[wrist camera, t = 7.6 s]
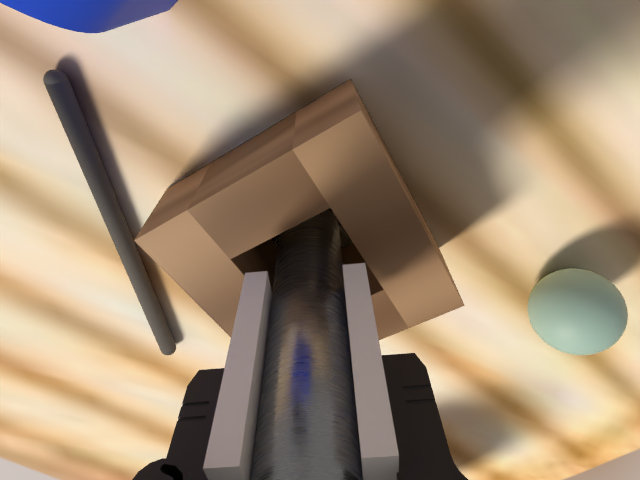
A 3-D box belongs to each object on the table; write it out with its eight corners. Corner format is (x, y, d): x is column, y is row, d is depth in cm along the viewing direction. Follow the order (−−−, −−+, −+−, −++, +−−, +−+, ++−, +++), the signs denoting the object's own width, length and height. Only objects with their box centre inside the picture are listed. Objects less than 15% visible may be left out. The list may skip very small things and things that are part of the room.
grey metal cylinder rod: (275, 205, 18) (188, 769, 5) (338, 200, 18) (399, 762, 5) (283, 256, 19) (232, 793, 7) (342, 252, 19) (398, 787, 7)
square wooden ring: (166, 189, 18) (133, 240, 15) (350, 79, 16) (361, 110, 12) (281, 319, 23) (275, 382, 19) (439, 248, 20) (464, 305, 17)
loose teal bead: (521, 255, 20) (562, 312, 17) (605, 248, 20) (663, 304, 17) (508, 315, 23) (542, 376, 19) (584, 309, 22) (631, 370, 19)
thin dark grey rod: (46, 68, 15) (34, 73, 15) (67, 66, 15) (56, 71, 15) (165, 347, 24) (160, 358, 23) (179, 346, 24) (175, 357, 23)
